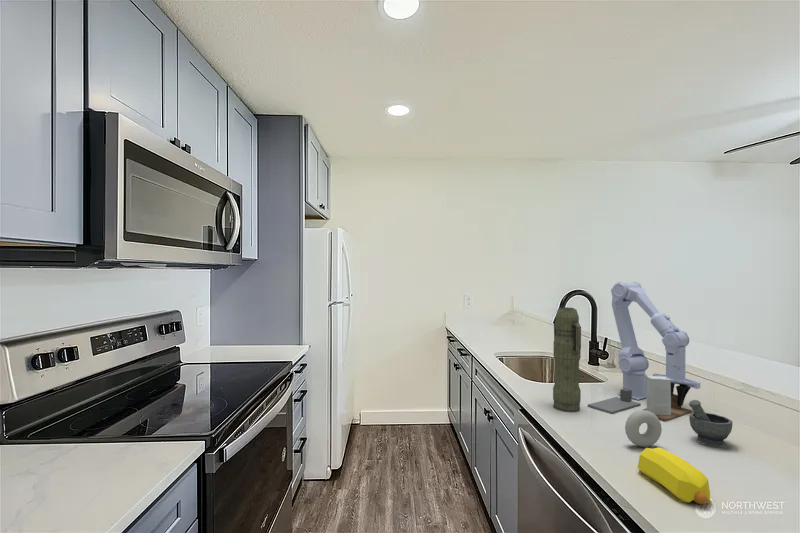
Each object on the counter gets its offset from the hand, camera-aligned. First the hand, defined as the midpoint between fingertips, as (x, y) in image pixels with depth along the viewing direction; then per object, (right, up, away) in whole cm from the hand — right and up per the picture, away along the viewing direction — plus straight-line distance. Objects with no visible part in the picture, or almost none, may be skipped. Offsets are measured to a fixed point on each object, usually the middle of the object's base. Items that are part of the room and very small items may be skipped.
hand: (675, 404), depth 146 cm
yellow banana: (-36, -1, -53) cm, 64 cm away
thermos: (-38, -1, 0) cm, 38 cm away
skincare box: (-10, -1, -7) cm, 12 cm away
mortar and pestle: (-10, -1, -29) cm, 30 cm away
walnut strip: (-6, -2, -4) cm, 8 cm away
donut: (-30, -1, -32) cm, 44 cm away
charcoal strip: (-20, -1, +3) cm, 20 cm away
